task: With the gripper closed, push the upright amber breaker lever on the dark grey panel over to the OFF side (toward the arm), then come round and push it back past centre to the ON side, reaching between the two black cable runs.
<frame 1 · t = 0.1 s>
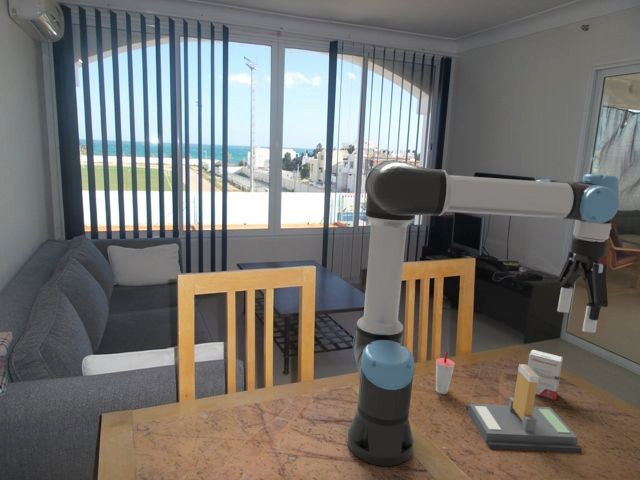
hand: (575, 321, 115), 28 cm above the table, fingers open, 13 cm apart
ink box: (540, 392, 136), on the table
cord b: (505, 410, 124), on the table
cord a: (534, 448, 109), on the table
cup: (441, 391, 133), on the table
panel: (519, 428, 116), on the table
breaker lever: (524, 393, 115), point 10 cm above the table, hinge at 0.0°
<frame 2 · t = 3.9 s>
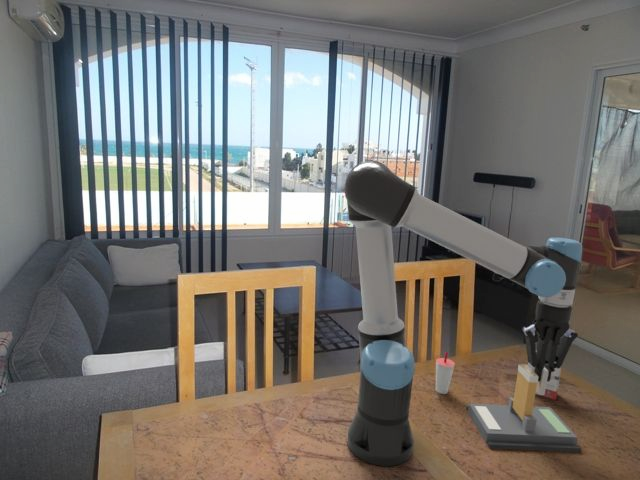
hand: (539, 392, 115), 10 cm above the table, fingers closed
breaker lever: (524, 393, 115), point 10 cm above the table, hinge at -0.4°, touching gripper
everything else where it was.
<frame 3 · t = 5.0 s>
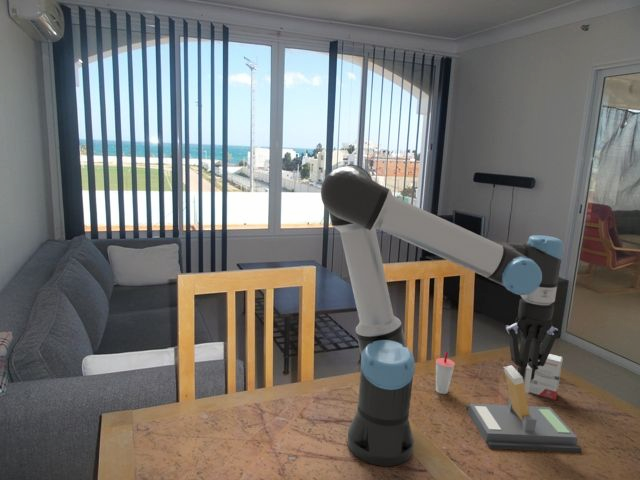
hand: (523, 390, 114), 11 cm above the table, fingers closed
breaker lever: (517, 394, 115), point 9 cm above the table, hinge at -18.9°, touching gripper
everything else where it was.
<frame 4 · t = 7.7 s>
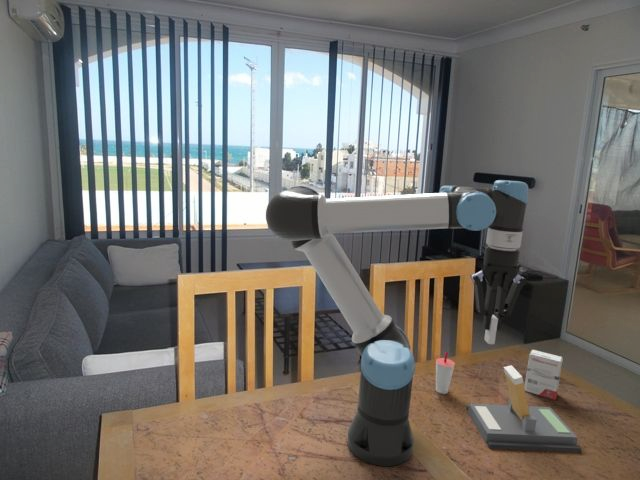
hand: (489, 341, 112), 23 cm above the table, fingers closed
breaker lever: (517, 394, 115), point 9 cm above the table, hinge at -19.0°
everything else where it was.
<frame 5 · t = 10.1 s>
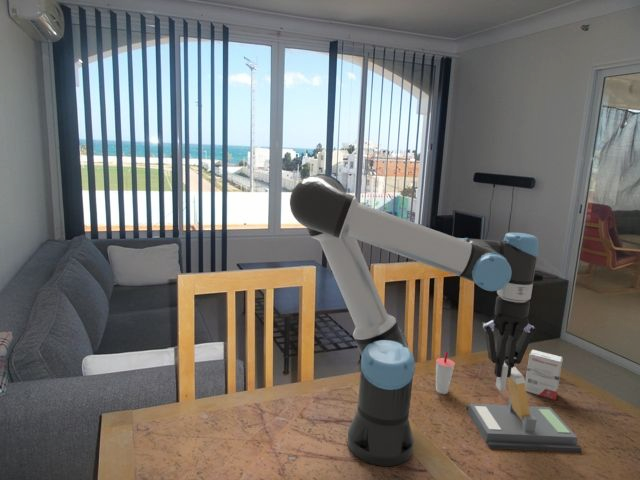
hand: (500, 388, 114), 11 cm above the table, fingers closed
breaker lever: (517, 394, 115), point 9 cm above the table, hinge at -17.2°, touching gripper
everything else where it was.
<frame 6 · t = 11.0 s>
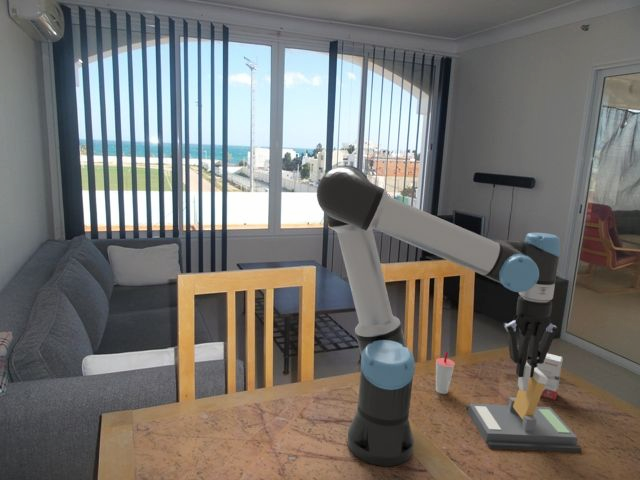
hand: (522, 388, 114), 11 cm above the table, fingers closed
breaker lever: (529, 394, 115), point 10 cm above the table, hinge at 11.3°, touching gripper
everything else where it was.
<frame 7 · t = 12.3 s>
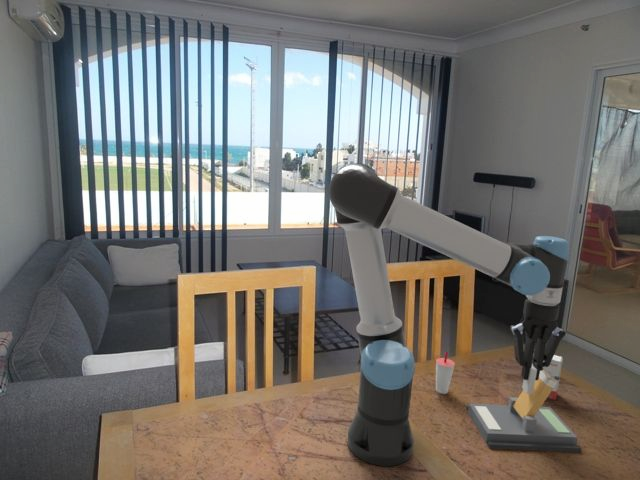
hand: (527, 390, 114), 10 cm above the table, fingers closed
breaker lever: (533, 395, 115), point 9 cm above the table, hinge at 23.8°
everything else where it was.
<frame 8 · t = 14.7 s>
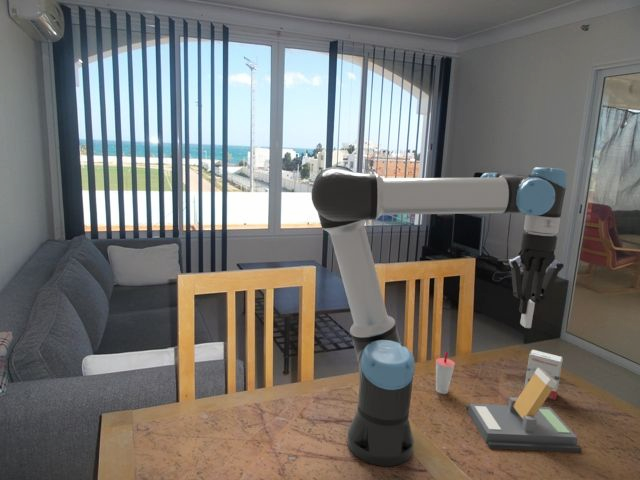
hand: (525, 325, 114), 26 cm above the table, fingers closed
nothing on the table moved.
at the end: breaker lever at +24° (first picture: +0°); breaker lever touching nothing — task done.
